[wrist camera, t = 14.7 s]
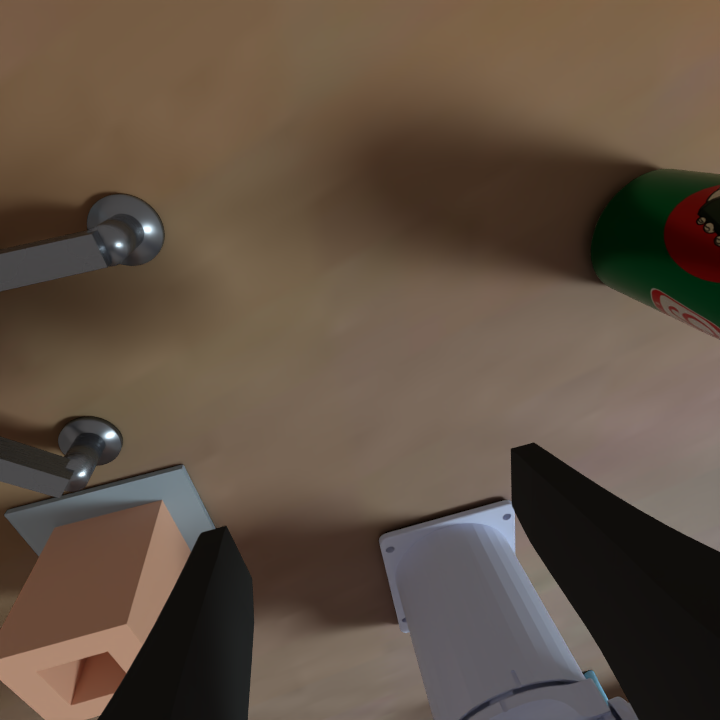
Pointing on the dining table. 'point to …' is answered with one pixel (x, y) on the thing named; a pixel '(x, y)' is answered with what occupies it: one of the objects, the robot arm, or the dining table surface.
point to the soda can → (665, 245)
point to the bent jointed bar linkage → (56, 260)
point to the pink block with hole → (90, 609)
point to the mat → (116, 506)
